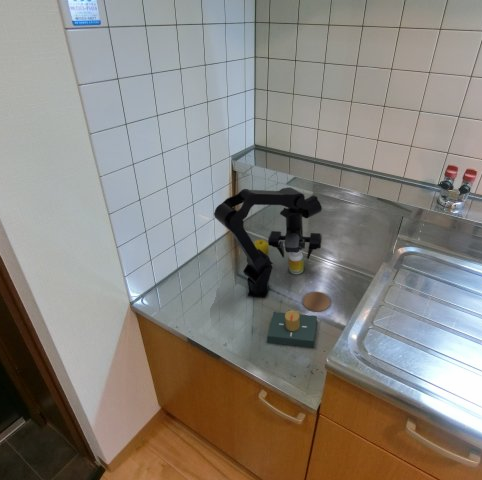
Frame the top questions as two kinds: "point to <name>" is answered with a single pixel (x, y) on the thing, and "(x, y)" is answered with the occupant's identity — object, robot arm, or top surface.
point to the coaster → (316, 301)
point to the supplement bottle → (296, 262)
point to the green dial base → (298, 337)
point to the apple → (262, 245)
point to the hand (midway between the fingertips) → (295, 257)
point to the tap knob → (292, 320)
